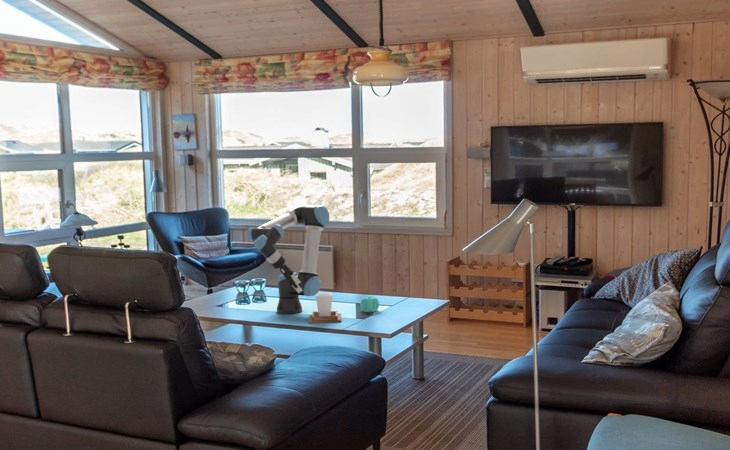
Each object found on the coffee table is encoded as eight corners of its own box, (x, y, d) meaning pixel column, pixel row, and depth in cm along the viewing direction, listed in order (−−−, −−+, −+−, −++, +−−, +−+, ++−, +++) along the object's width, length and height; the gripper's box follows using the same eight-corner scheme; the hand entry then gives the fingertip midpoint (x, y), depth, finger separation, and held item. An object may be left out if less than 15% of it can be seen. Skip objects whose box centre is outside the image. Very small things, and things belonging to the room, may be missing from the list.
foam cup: (320, 315, 429) (319, 292, 427) (335, 315, 425) (334, 293, 424) (314, 318, 420) (313, 295, 418) (329, 319, 417) (328, 296, 415)
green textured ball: (379, 310, 443) (379, 297, 442) (370, 312, 437) (370, 299, 436) (369, 309, 448) (368, 296, 447) (360, 311, 442) (359, 298, 441)
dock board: (309, 316, 431) (309, 311, 431) (341, 315, 432) (340, 310, 432) (308, 323, 413) (308, 317, 413) (341, 322, 414) (340, 316, 414)
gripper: (269, 257, 424) (293, 284, 430) (271, 270, 400) (295, 299, 406) (280, 248, 423) (303, 276, 430) (282, 262, 400) (306, 291, 406)
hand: (299, 287), depth 418 cm, fingers open, 13 cm apart
